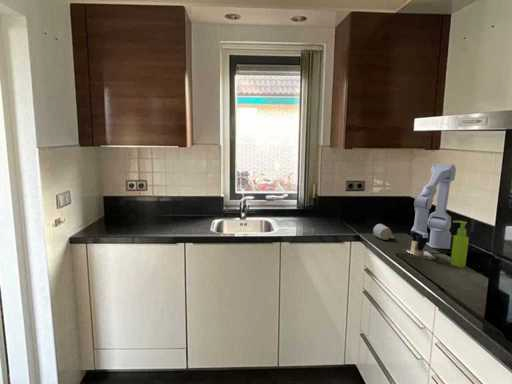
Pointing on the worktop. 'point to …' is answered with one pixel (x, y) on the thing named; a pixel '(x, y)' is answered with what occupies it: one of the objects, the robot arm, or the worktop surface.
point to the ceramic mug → (382, 232)
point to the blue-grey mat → (424, 254)
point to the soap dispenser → (459, 246)
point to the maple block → (416, 249)
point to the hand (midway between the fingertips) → (418, 248)
